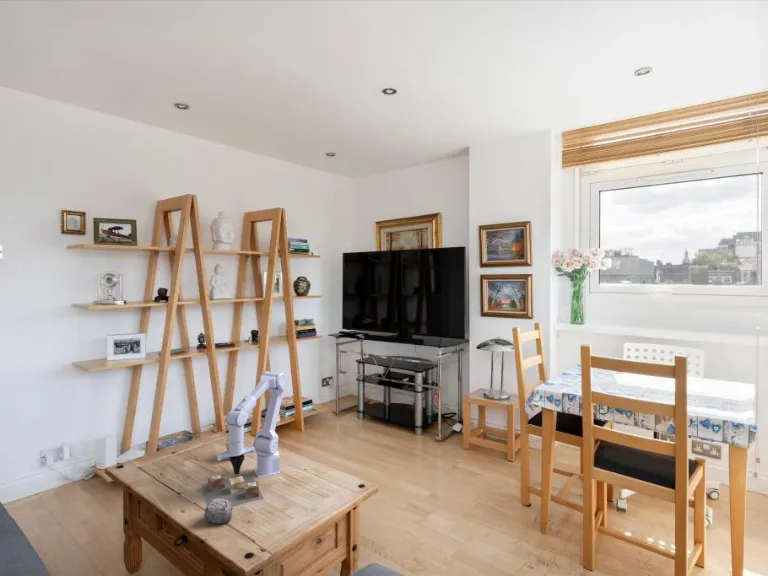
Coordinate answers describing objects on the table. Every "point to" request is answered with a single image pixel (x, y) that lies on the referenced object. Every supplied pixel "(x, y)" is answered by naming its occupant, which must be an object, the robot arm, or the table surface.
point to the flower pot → (228, 444)
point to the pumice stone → (218, 511)
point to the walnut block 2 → (251, 490)
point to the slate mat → (226, 494)
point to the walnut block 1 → (216, 482)
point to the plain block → (236, 484)
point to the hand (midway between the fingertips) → (236, 473)
